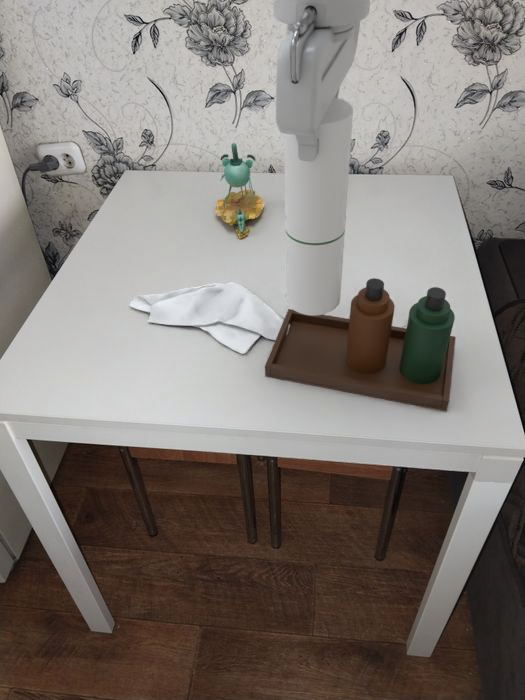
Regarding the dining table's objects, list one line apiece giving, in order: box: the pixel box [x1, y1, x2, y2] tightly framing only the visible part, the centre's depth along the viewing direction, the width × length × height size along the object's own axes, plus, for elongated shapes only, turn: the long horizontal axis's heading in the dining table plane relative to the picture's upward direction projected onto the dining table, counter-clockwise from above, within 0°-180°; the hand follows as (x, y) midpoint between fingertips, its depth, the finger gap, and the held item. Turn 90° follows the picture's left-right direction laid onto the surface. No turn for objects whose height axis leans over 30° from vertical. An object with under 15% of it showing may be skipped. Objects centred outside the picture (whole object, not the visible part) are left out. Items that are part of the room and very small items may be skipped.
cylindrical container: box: [283, 97, 354, 316], centre depth 70 cm, size 7×7×25 cm
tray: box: [264, 308, 457, 412], centre depth 83 cm, size 25×13×2 cm, turn 73°
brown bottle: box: [346, 277, 396, 374], centre depth 78 cm, size 6×6×14 cm
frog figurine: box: [214, 142, 266, 239], centre depth 109 cm, size 10×18×15 cm, turn 169°
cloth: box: [128, 281, 290, 355], centre depth 91 cm, size 26×14×2 cm, turn 61°
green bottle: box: [400, 286, 456, 384], centre depth 77 cm, size 6×6×14 cm
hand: (317, 140), depth 63 cm, fingers closed on cylindrical container, 7 cm apart
